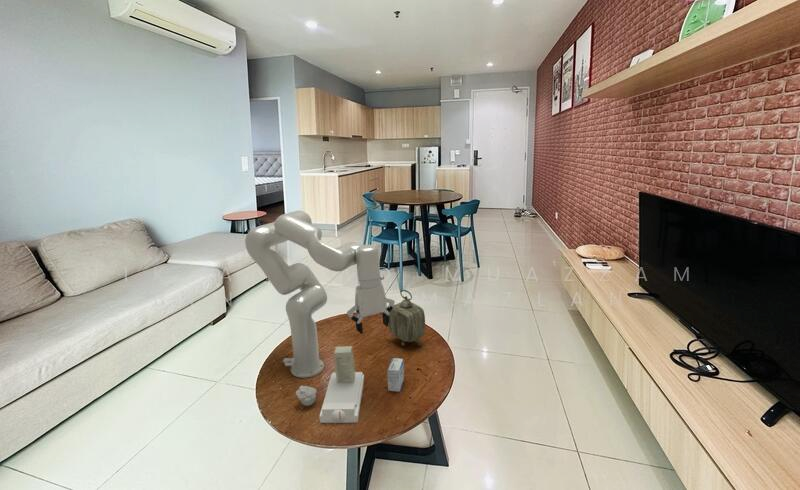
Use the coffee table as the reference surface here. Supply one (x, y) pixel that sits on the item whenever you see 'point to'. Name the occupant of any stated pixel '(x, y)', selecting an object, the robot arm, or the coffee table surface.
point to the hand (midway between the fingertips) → (373, 328)
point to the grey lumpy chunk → (306, 395)
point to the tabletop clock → (407, 321)
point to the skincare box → (344, 364)
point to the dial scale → (342, 400)
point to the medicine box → (395, 374)
